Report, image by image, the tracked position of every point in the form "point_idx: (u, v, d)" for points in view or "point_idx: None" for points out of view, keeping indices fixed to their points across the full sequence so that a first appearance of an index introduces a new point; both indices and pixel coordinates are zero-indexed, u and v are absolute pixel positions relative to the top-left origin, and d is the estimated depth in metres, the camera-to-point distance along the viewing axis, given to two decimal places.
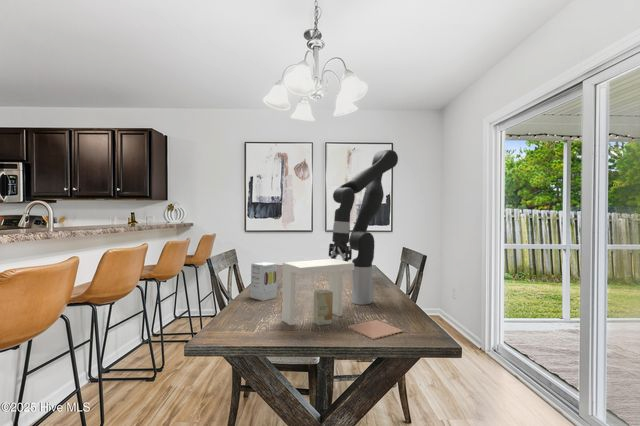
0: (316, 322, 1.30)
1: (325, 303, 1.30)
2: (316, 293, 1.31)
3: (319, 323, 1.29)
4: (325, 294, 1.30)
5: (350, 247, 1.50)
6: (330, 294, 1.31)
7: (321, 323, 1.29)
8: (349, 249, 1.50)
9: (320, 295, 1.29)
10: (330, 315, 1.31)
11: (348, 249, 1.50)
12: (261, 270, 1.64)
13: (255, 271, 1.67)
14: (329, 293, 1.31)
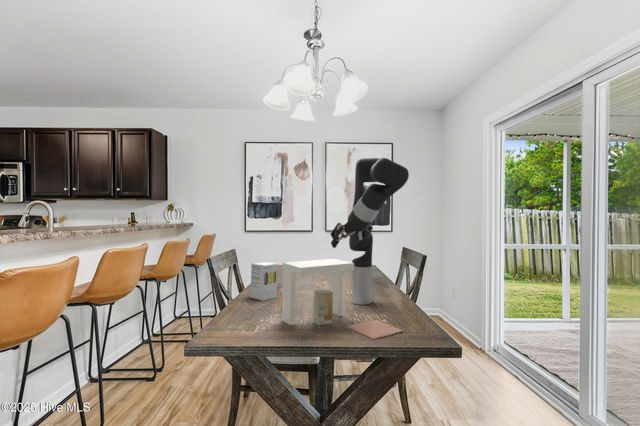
0: (316, 322, 1.30)
1: (325, 303, 1.30)
2: (316, 293, 1.31)
3: (319, 323, 1.29)
4: (325, 294, 1.30)
5: None
6: (330, 294, 1.31)
7: (321, 323, 1.29)
8: None
9: (320, 295, 1.29)
10: (330, 315, 1.31)
11: None
12: (261, 270, 1.64)
13: (255, 271, 1.67)
14: (329, 293, 1.31)
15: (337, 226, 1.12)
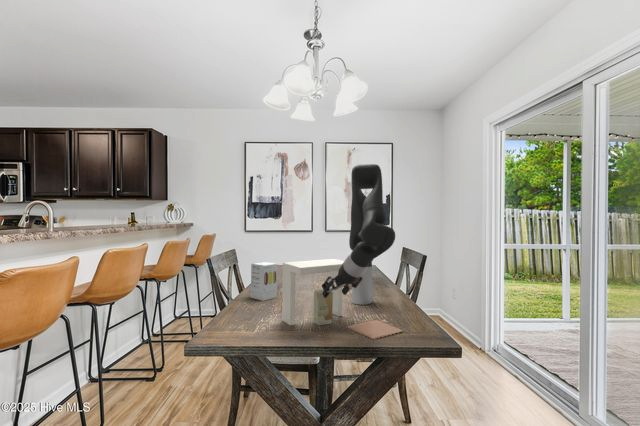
0: (316, 322, 1.30)
1: (325, 303, 1.30)
2: (316, 293, 1.31)
3: (319, 323, 1.29)
4: None
5: None
6: (330, 294, 1.31)
7: (321, 323, 1.29)
8: None
9: (320, 295, 1.29)
10: (330, 315, 1.31)
11: None
12: (261, 270, 1.64)
13: (255, 271, 1.67)
14: None
15: (328, 280, 1.17)
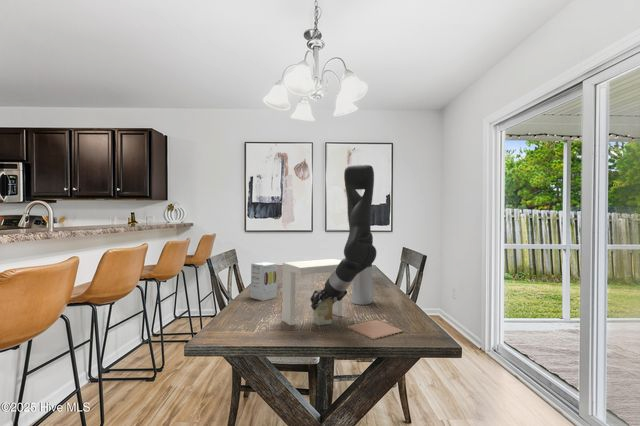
0: (316, 322, 1.30)
1: (325, 303, 1.30)
2: None
3: (319, 323, 1.29)
4: None
5: None
6: None
7: (321, 323, 1.29)
8: None
9: None
10: (330, 315, 1.31)
11: None
12: (261, 270, 1.64)
13: (255, 271, 1.67)
14: None
15: (314, 294, 1.25)
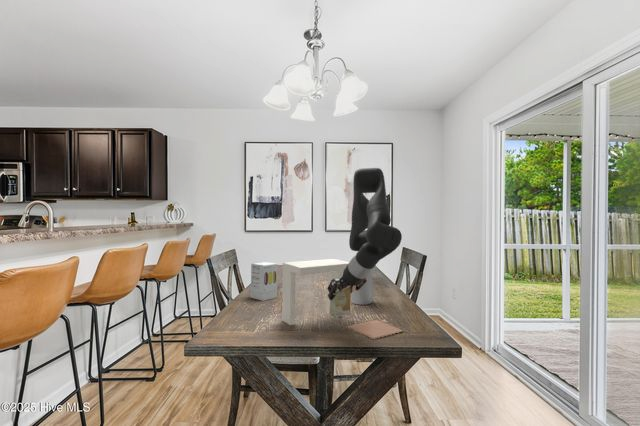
0: (333, 313, 1.21)
1: (343, 293, 1.21)
2: None
3: (337, 314, 1.20)
4: None
5: None
6: None
7: (339, 314, 1.20)
8: None
9: None
10: (348, 305, 1.22)
11: None
12: (261, 270, 1.64)
13: (255, 271, 1.67)
14: None
15: (332, 282, 1.15)
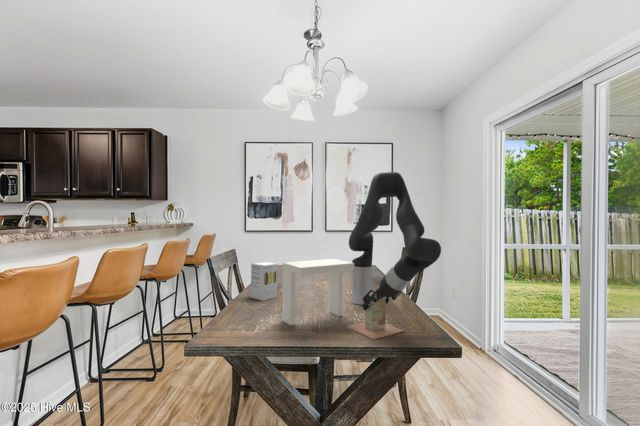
0: (369, 327, 1.23)
1: (379, 307, 1.23)
2: None
3: (373, 329, 1.22)
4: None
5: None
6: None
7: (375, 328, 1.22)
8: None
9: None
10: (383, 320, 1.24)
11: None
12: (261, 270, 1.64)
13: (255, 271, 1.67)
14: None
15: (369, 293, 1.17)
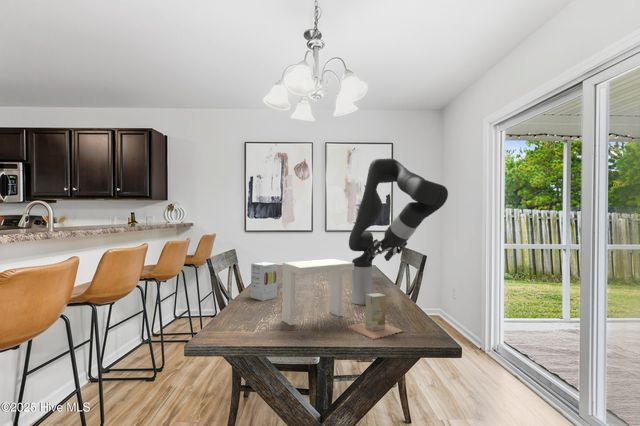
0: (369, 327, 1.23)
1: (379, 307, 1.23)
2: (369, 297, 1.23)
3: (373, 329, 1.22)
4: (379, 298, 1.23)
5: None
6: (384, 298, 1.24)
7: (375, 328, 1.22)
8: None
9: (374, 299, 1.22)
10: (383, 320, 1.24)
11: None
12: (261, 270, 1.64)
13: (255, 271, 1.67)
14: (383, 297, 1.24)
15: (374, 242, 1.15)
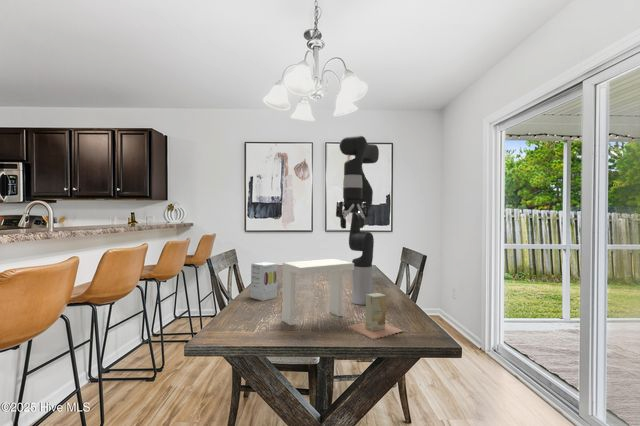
0: (369, 327, 1.23)
1: (379, 307, 1.23)
2: (369, 297, 1.23)
3: (373, 329, 1.22)
4: (379, 298, 1.23)
5: None
6: (384, 298, 1.24)
7: (375, 328, 1.22)
8: None
9: (374, 299, 1.22)
10: (383, 320, 1.24)
11: None
12: (261, 270, 1.64)
13: (255, 271, 1.67)
14: (383, 297, 1.24)
15: (337, 204, 1.33)
